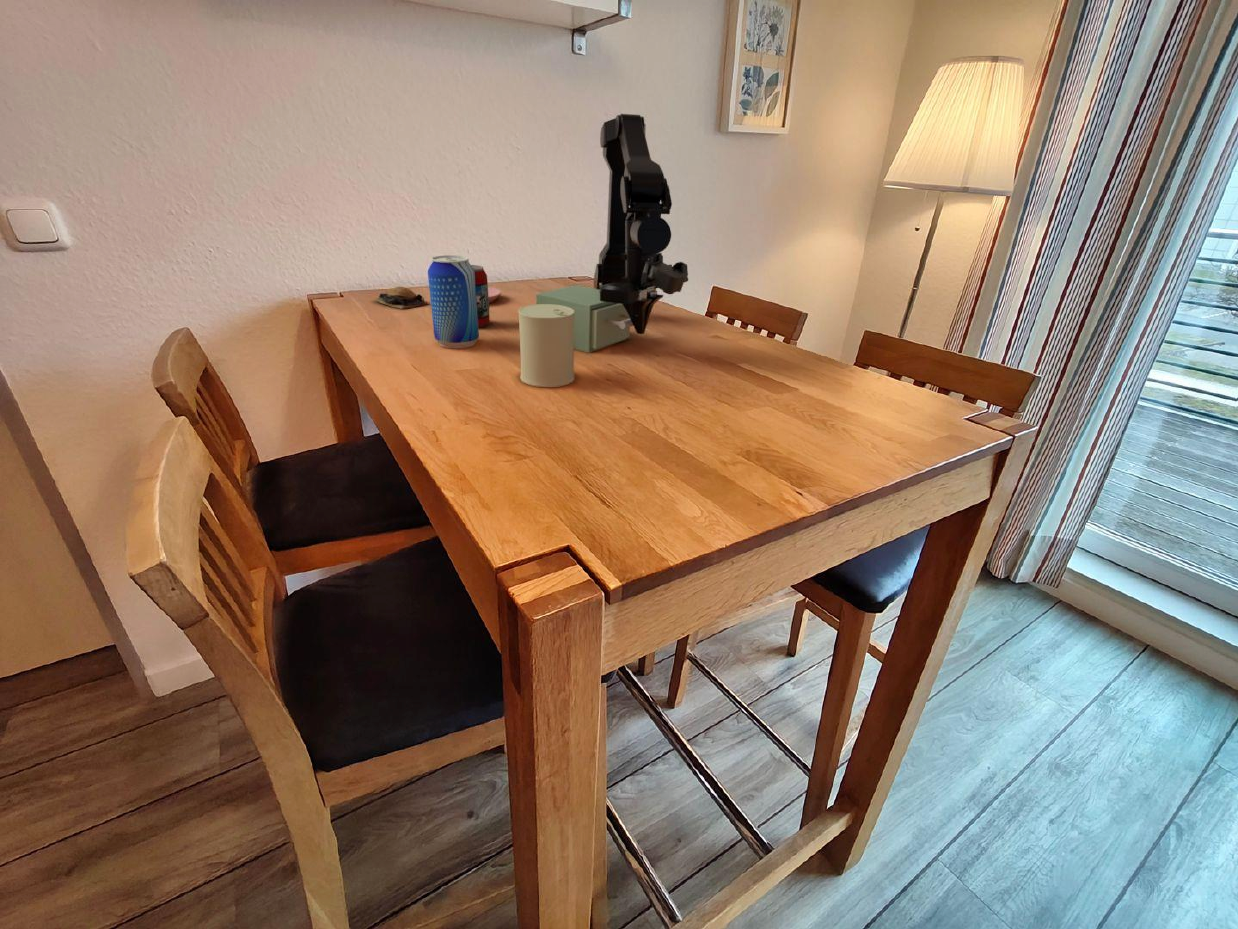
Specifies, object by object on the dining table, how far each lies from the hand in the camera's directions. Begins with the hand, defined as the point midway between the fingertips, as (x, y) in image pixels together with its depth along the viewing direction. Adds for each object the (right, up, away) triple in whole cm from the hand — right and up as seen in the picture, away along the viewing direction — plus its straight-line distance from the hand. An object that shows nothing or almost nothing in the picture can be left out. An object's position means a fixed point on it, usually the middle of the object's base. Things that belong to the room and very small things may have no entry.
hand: (640, 333), depth 112 cm
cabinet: (-12, +1, +9) cm, 15 cm away
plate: (-41, +16, +35) cm, 56 cm away
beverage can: (-36, +5, +15) cm, 39 cm away
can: (-16, -11, -12) cm, 23 cm away
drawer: (-8, 0, +6) cm, 11 cm away
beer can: (-36, -2, +3) cm, 36 cm away
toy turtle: (-57, +14, +29) cm, 65 cm away
